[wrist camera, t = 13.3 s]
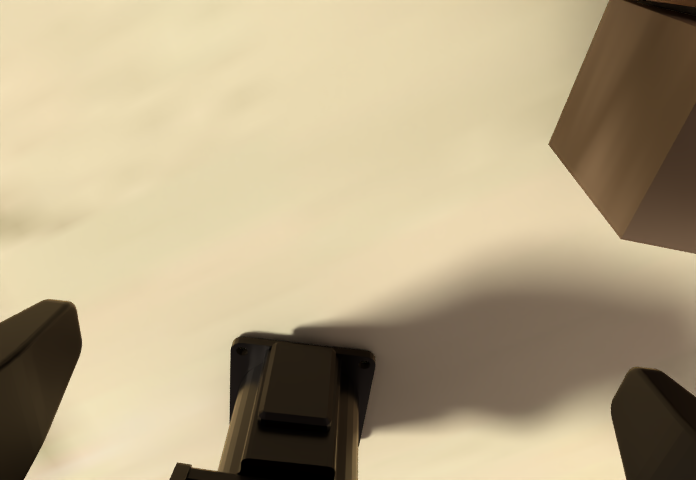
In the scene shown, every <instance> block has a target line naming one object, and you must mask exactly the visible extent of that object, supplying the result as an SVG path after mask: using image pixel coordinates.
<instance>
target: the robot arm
mask: <svg viewBox="0 0 696 480" xmlns="http://www.w3.org/2000/svg"><path fill="white" fill-rule="evenodd" d="M240 347H244V348H246V349H241V348H240ZM81 348H82V338H81V332H80V326H79V321H78V315H77V310H76V307H75V305H74V304H73V303H72V302H69V301H62V300H53V299H46V300H43V301H41V302H39V303H37V304H35V305H33V306H31V307H29V308H27V309H25V310H23V311H22V312H20V313H18V314H16V315H14V316H12V317H10V318H8V319H6V320H4V321H2V322H1V323H0V480H24V478H25V476H26V475H27V473H28V471H29V469H30V467H31V465H32V464H33V462H34V460H35V458H36V456H37V454H38V452H39V450H40V448H41V447H42V445H43V443H44V440H45V438H46V436H47V434H48V431H49V429H50V427H51V424H52V422H53V419H54V417H55V415H56V412H57V410H58V407H59V405H60V402H61V400H62V398H63V395H64V393H65V390H66V388H67V385H68V383H69V381H70V378H71V376H72V373H73V371H74V368H75V366H76V364H77V361H78V359H79V356H80V353H81ZM361 361H368V362H366V363H363V362H361ZM374 370H375V356H374V354H373V353H371V352H370V351H366V350H358V349H349V348H340V347H331V346H322V345H313V344H304V343H295V342H286V341H277V340H268V339H259V338H250V337H238V338H236V339H235V340H234V341H233V344H232V347H231V361H230V426H229V429H228V433H227V437H226V441H225V445H224V449H223V452H222V456H221V460H220V464H219V468H218V471H213V470H206V469H200V468H193V467H192V465H190V464H183V463H177V464H176V466H175V468H174V471H173V473H172V475H171V478H170V480H358V446H359V443H360V438H361V433H362V428H363V424H364V419H365V414H366V409H367V404H368V399H369V394H370V390H371V385H372V380H373V375H374ZM611 416H612V421H613V425H614V429H615V433H616V438H617V442H618V446H619V450H620V455H621V459H622V463H623V467H624V472H625V476H626V480H696V397H695V396H694V395H692V394H691V393H690V392H688V391H687V390H686V389H684V388H683V387H682V386H680V385H679V384H678V383H677V382H675V381H674V380H673V379H671V378H670V377H669V376H667V375H666V374H665V373H663V372H662V371H660V370H657V369H652V368H643V367H633V368H632V369H630V370H629V371H628V373H627V374H626V376H625V378H624V380H623V382H622V384H621V385H620V387H619V389H618V391H617V393H616V394H615V396H614V398H613V400H612V404H611Z"/></svg>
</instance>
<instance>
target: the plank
mask: <svg viewBox="0 0 696 480" xmlns="http://www.w3.org/2000/svg"><path fill="white" fill-rule="evenodd" d="M648 1H656V2H663V3H670V4H677V5H684V6H691V7H696V0H648Z"/></svg>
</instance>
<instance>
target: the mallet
mask: <svg viewBox="0 0 696 480" xmlns="http://www.w3.org/2000/svg"><path fill="white" fill-rule="evenodd" d="M548 145H549V146H550V147H551V149H552V150H553V151H554V152H555V154H556V155H557V156H558V158H559V159H560V160H561V162H562V163H563V164H564V165H565V167H566V168H567V169H568V171H569V172H570V173H571V175H572V176H573V177H574V179H575V180H576V181H577V182H578V184H579V185H580V186H581V188H582V189H583V190H584V192H585V193H586V194H587V196H588V197H589V198H590V199H591V201H592V202H593V203H594V205H595V206H596V207H597V209H598V210H599V211H600V212H601V214H602V215H603V216H604V218H605V219H606V220H607V222H608V223H609V224H610V226H611V227H612V228H613V229H614V231H615V232H616V233H617V235H618V236H619V237H620V239H623V240H628V241H633V242H638V243H644V244H649V245H654V246H659V247H664V248H669V249H674V250H679V251H684V252H689V253H695V254H696V16H695V15H691V14H686V13H682V12H678V11H674V10H669V9H665V8H661V7H657V6H652V5H648V4H644V3H639V2H635V1H631V0H609V2H608V5H607V7H606V9H605V12H604V14H603V16H602V19H601V21H600V24H599V26H598V28H597V31H596V33H595V35H594V38H593V40H592V42H591V45H590V47H589V50H588V52H587V54H586V57H585V59H584V61H583V64H582V66H581V69H580V71H579V73H578V76H577V78H576V80H575V83H574V85H573V87H572V90H571V92H570V95H569V97H568V99H567V102H566V104H565V106H564V109H563V111H562V114H561V116H560V118H559V121H558V123H557V125H556V128H555V130H554V133H553V135H552V137H551V140H550V142H549V144H548Z"/></svg>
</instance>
